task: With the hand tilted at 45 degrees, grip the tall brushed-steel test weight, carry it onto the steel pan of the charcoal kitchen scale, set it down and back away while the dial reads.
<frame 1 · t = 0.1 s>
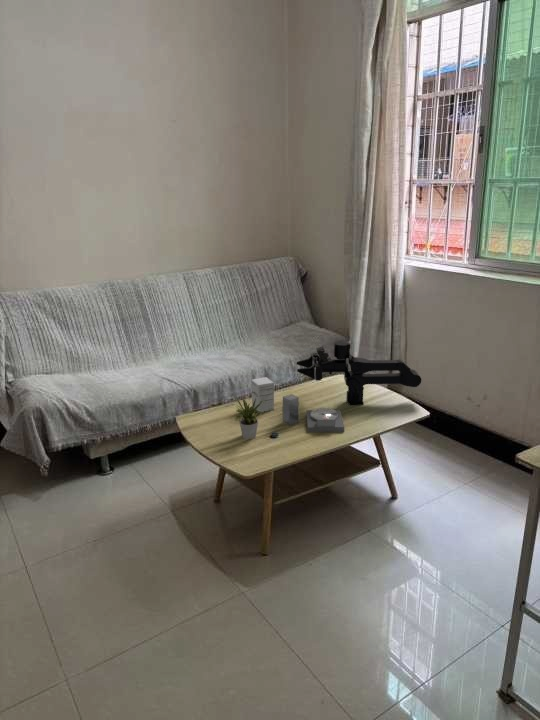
hand: (296, 366, 238), 17 cm above the table, tool horizontal, fingers open, 9 cm apart
steel test weight: (290, 422, 225), on the table
scale base: (324, 423, 224), on the table
supplement box: (263, 408, 238), on the table
house plant: (245, 436, 214), on the table
scale pan: (324, 414, 225), point 3 cm above the table, slide at -0.3 cm
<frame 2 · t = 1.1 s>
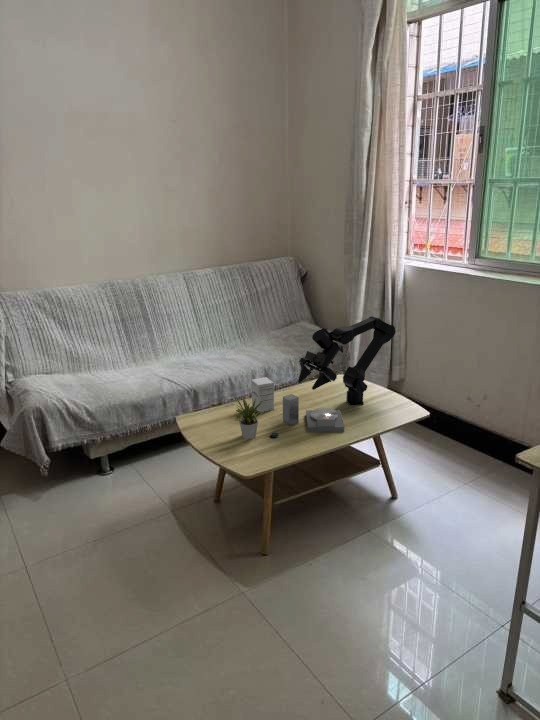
hand: (305, 385, 225), 14 cm above the table, tool tilted 45°, fingers open, 9 cm apart
nothing on the table moved.
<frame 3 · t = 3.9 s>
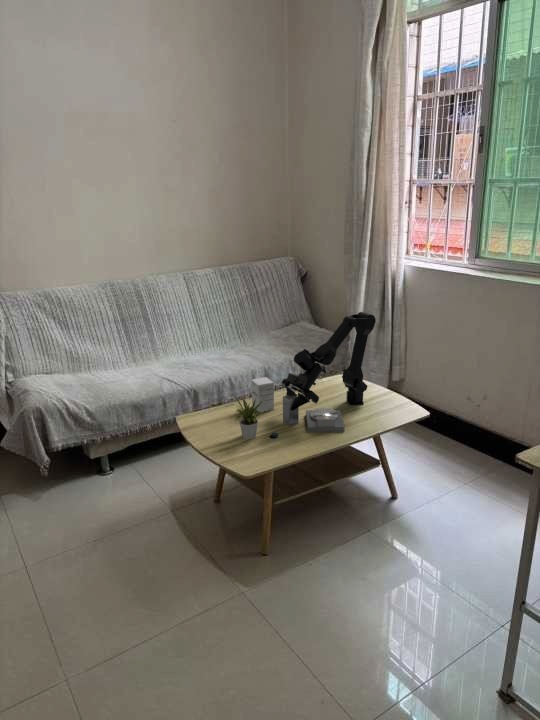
hand: (287, 408, 222), 7 cm above the table, tool tilted 45°, fingers closed on steel test weight, 4 cm apart
steel test weight: (290, 422, 225), on the table, touching gripper
everything else where it was.
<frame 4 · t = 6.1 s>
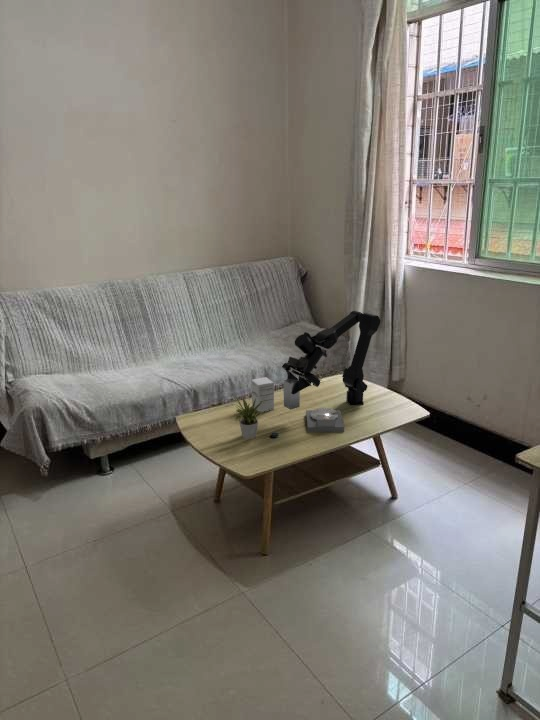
hand: (288, 392, 220), 13 cm above the table, tool tilted 45°, fingers closed on steel test weight, 4 cm apart
steel test weight: (291, 406, 223), point 7 cm above the table, touching gripper
everything else where it was.
when the fingers open (11 cm above the table, at t = 8.5 s): steel test weight drops 1 cm, resting on scale pan.
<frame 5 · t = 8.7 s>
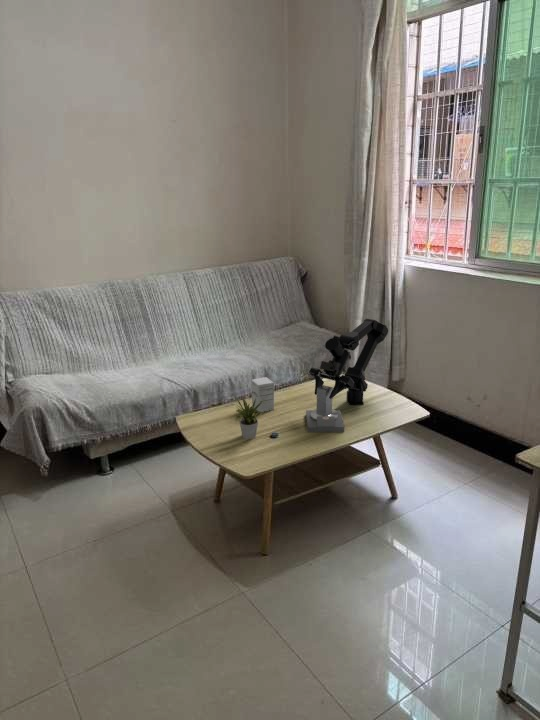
hand: (322, 396, 221), 11 cm above the table, tool tilted 45°, fingers open, 7 cm apart
steel test weight: (324, 413, 224), point 3 cm above the table, touching scale pan
scale pan: (324, 414, 225), point 3 cm above the table, slide at -0.4 cm, touching steel test weight
everything else where it was.
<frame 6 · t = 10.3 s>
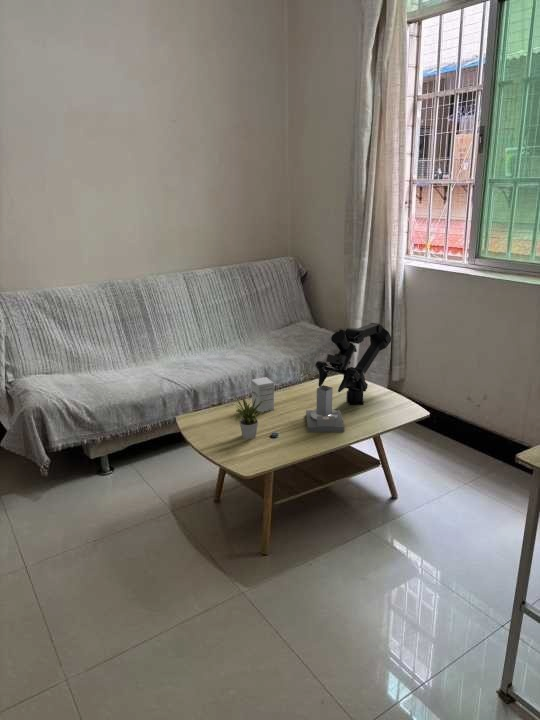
hand: (328, 389, 224), 13 cm above the table, tool tilted 45°, fingers open, 9 cm apart
nothing on the table moved.
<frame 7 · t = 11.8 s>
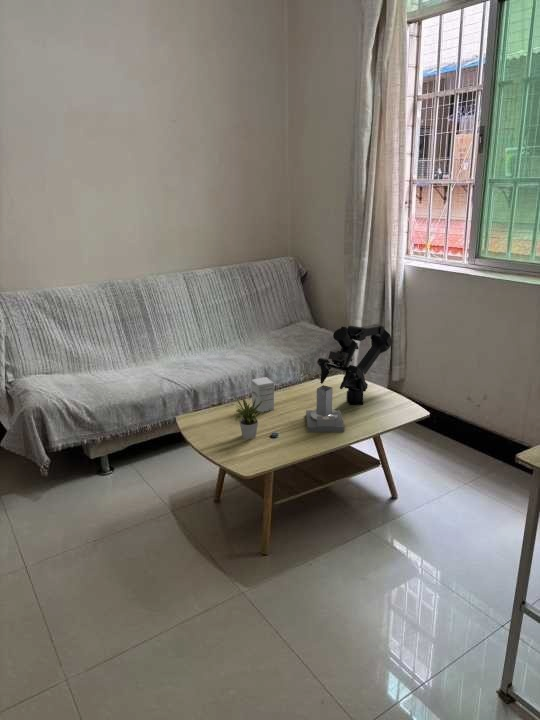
hand: (330, 386, 225), 14 cm above the table, tool tilted 45°, fingers open, 9 cm apart
nothing on the table moved.
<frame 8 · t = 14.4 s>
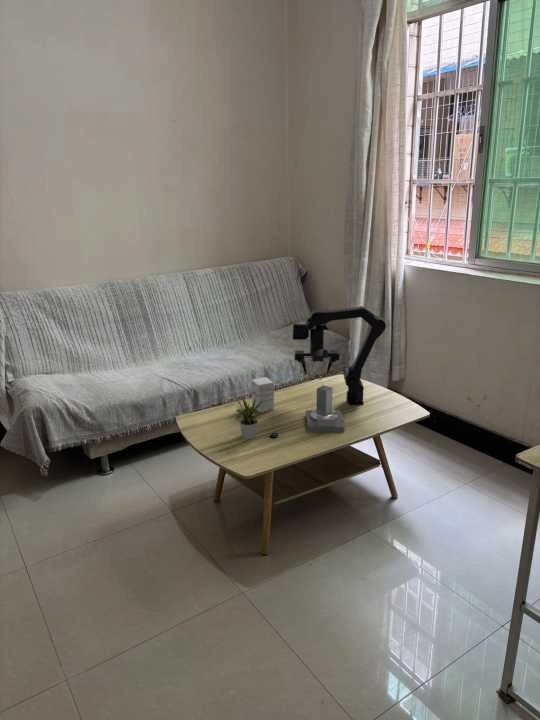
hand: (316, 374, 239), 13 cm above the table, tool pointing down, fingers open, 9 cm apart
nothing on the table moved.
at the end: steel test weight inside the target area on the scale pan (0.0 cm from its centre), point 3.6 cm above the scale pan's base; steel test weight tilted 0°; the gripper is holding nothing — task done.
